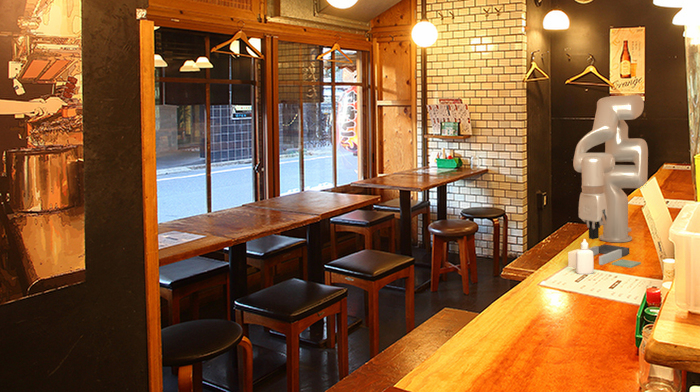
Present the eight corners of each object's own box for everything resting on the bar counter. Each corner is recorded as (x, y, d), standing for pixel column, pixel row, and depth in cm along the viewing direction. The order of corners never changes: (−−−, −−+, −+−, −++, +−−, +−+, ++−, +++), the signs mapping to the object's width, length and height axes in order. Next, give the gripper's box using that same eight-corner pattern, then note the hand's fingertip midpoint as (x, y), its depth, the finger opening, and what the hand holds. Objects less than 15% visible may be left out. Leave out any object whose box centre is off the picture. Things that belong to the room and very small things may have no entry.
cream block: (577, 263, 218) (577, 249, 218) (590, 265, 214) (590, 251, 214) (568, 267, 215) (568, 252, 214) (581, 269, 211) (581, 254, 210)
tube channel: (595, 253, 231) (595, 245, 230) (621, 257, 223) (621, 249, 222) (575, 260, 222) (575, 252, 222) (602, 265, 214) (602, 256, 214)
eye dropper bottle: (577, 270, 209) (577, 237, 207) (594, 272, 206) (594, 238, 204) (574, 273, 205) (574, 240, 204) (592, 275, 202) (592, 241, 201)
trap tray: (604, 250, 234) (604, 244, 234) (629, 254, 226) (629, 247, 226) (597, 252, 231) (597, 246, 231) (622, 256, 223) (622, 250, 223)
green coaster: (621, 260, 218) (621, 259, 218) (640, 263, 213) (640, 262, 213) (611, 264, 214) (611, 263, 214) (631, 267, 208) (631, 266, 208)
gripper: (570, 188, 222) (571, 236, 225) (600, 193, 208) (601, 244, 212) (585, 185, 225) (586, 232, 228) (616, 190, 211) (617, 240, 214)
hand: (593, 238), depth 220 cm, fingers closed
